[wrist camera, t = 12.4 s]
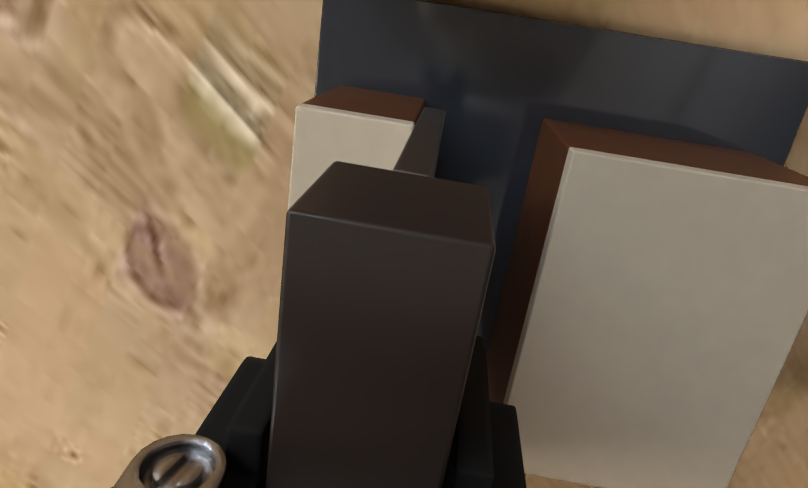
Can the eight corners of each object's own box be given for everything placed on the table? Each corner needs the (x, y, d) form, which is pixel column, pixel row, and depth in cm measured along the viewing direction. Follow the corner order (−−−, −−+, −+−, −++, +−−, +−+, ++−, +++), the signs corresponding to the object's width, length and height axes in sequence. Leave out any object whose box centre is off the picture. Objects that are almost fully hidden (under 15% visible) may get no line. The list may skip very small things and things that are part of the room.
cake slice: (339, 84, 19) (294, 105, 14) (426, 98, 19) (413, 125, 14) (313, 337, 23) (270, 427, 18) (386, 350, 23) (364, 445, 18)
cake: (542, 117, 19) (573, 150, 14) (751, 152, 19) (861, 198, 14) (483, 367, 23) (490, 467, 18) (658, 398, 23) (717, 509, 17)
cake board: (330, -14, 19) (324, -16, 18) (807, 62, 19) (825, 64, 18) (293, 380, 25) (287, 394, 24) (657, 447, 25) (664, 463, 24)
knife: (390, 100, 15) (285, 209, 6) (479, 115, 15) (497, 246, 6) (348, 405, 19) (246, 738, 10) (420, 419, 19) (378, 767, 10)
